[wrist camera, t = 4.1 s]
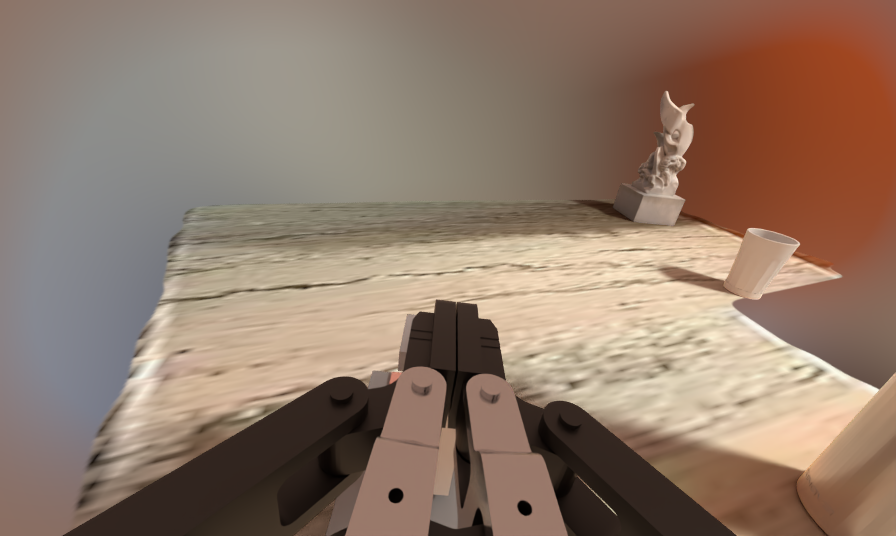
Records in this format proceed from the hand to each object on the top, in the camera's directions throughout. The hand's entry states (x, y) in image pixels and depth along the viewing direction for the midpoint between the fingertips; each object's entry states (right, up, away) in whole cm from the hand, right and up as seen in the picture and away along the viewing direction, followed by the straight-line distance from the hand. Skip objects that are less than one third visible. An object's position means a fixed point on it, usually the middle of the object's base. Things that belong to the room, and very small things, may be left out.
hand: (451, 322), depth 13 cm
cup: (+59, -3, +60) cm, 84 cm away
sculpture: (+61, +18, +101) cm, 119 cm away
